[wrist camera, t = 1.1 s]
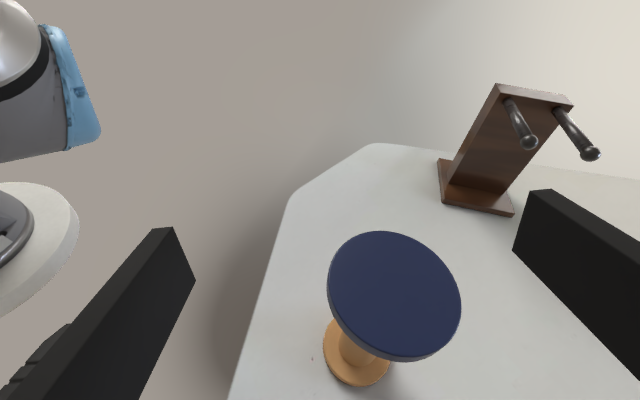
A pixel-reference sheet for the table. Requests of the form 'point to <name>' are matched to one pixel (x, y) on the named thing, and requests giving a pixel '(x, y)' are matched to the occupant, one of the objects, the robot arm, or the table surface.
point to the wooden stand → (506, 147)
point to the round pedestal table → (387, 306)
